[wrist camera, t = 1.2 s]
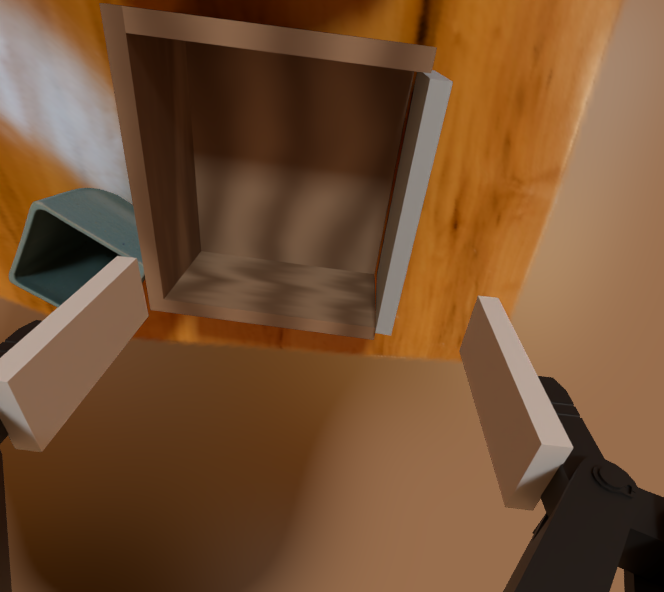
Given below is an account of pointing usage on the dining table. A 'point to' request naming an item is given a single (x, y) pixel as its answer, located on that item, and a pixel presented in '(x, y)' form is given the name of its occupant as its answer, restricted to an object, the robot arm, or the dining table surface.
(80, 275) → the flower pot
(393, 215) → the panel
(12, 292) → the dining table surface
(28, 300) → the dining table surface
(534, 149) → the dining table surface
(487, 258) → the dining table surface
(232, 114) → the crate
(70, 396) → the robot arm
